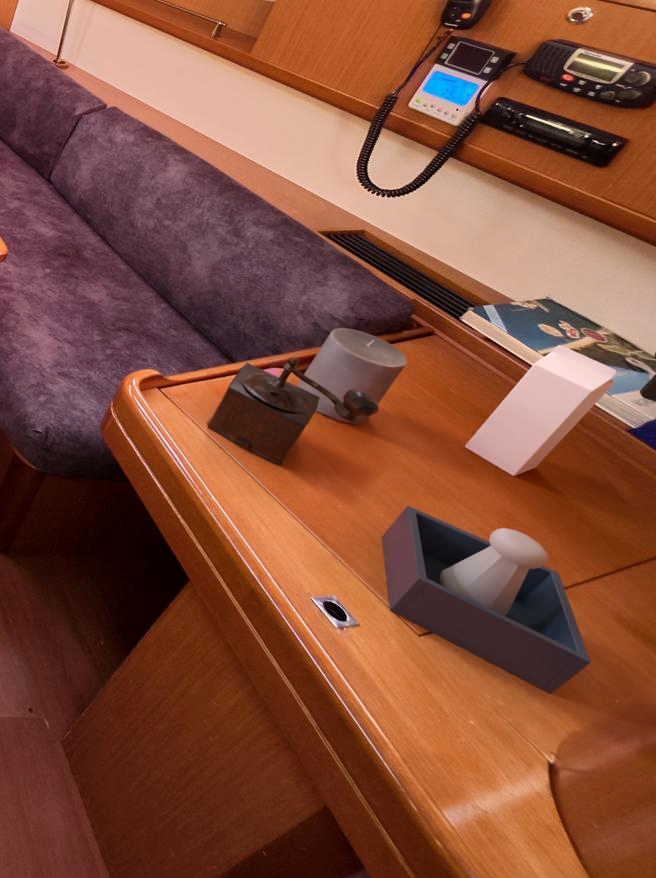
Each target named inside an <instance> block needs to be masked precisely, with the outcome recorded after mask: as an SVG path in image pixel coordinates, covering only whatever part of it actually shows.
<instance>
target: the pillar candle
mask: <svg viewBox="0 0 656 878" xmlns="http://www.w3.org/2000/svg"><path fill="white" fill-rule="evenodd" d="M407 364H408V358H407V356H406V355H405V354H404V353H403V351H401V350H400V349H399V348H397V347H396V346H394V345H392V344H391V343H389V342H388V341H386V340H384V339H382V338H380V337H378V336H375V335H373V334H370V333H368V332H365V331H360V330H358V329H355V328H354V329H353V328H348V327H339V328H334V329H333V330H332V331H331V332H330V333H329V335H328V336H327V338H326V339H325V341H324V342H323V344H322V346H321V347H320V348H319V350H318V351H317V353H316V355H315V357H314V358H313V360H312V361H311V363H310V365H309V366H308V367H307V369H306V370H305V372H304V375H305V376H307V377H308V378H310V379H311V380H313V381H315V382H316V383H318V384H319V385H321V386H322V387H324V388H325V389H327V390H328V391H330V392H331V393H332V394H334V395H335V396H336V397H337V398H338V399H339V400H340V401H341V402H342V403H343V401H344V399H343V396H344V395H345V394H346V393H347V391H348V390H352V389H356V390H360V391H362V392H365V393H367V394H369V395H370V396H371V397H372V398H373V399H374V400H375V401H376V402H377V403H378V404H380V402H381V401H382V399H384V396H385V395H386V394H387V392H388V391H389V389H390V388H391V387H392V385H393V384H394V382H395V381H396V380H397V378H398V377H399V375H400V374H401V372H402V371H403V370H404V369H405V367H406V366H407ZM296 386H297V387H300V388H302V389H304V390H306V391H308V392H310V393H312V394H314V395H316V396H318V397H320V399H319V401H318V406H317V409H316V411H315V412H317V413H320V414H322V415H325V416H326V417H329V418H331V419H333V420H336V421H338V422H341V423H344V424H351V425H352V424H353V425H360V424H362V423H364V422H366V420H368V419H369V418H370V416H358V418H357V421H353V422H350V421H348V420H346V419H344V418H342V417H341V416H340V415H339V414H338V413H337V412H336V411H335V408H334V406H335V405H334V403H333V402H332V401H331V400H330V399H329V398H328V397H327V396H325V395H324V394H323V393H321V392H320V391H318V390H317V389H315V388H314V387H312V386H310V385H309V384H307V383H305V382H304V381H302V380H301V379H299V382H298V384H296Z"/></svg>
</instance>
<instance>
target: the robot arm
mask: <svg viewBox="0 0 656 878" xmlns="http://www.w3.org/2000/svg"><path fill="white" fill-rule="evenodd" d="M653 357H654V359H656V352H655V353H654V356H653ZM639 394H640V396H641V397H642V398H643V399H644V400H645V399H646V400H649V401H651V402H655V403H656V373H655V374H654V375H653V376H652V377H651V378H650V379H649V380H648V381H647V383H645V385H644V386H643V387H641V389H640V390H639Z"/></svg>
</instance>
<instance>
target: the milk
mask: <svg viewBox="0 0 656 878" xmlns="http://www.w3.org/2000/svg"><path fill="white" fill-rule="evenodd" d="M617 373H618V371H617V370H616V369H615V368H614V367H613V368H612V367H610V366H608V365H606V364H604V363H601V362H599V361H597V360H595V359H592V358H591V357H588V356H586V355H584V354H582V353H579V352H577V351H575V350H573V349H570V348H568V347H565V346H564V345H556V347H554V349H553V350H552V351H551V352H549V353H548V354H547V355H545V356H543V357H542V358H540V359H539V360H537V361H536V362H534V363H533V364H532V366H531V367H530V368H529V369H528V370H527V372H526V373H525V374H524V375H523V376H522V378H521V379H520V380H519V381H518V382H517V383H516V385H515V386H514V387H513V388H512V389H511V391H510V392H509V393H508V394H507V395H506V397H505V398H504V399H503V400H502V401H501V402H500V404H499V405H498V406H497V407H496V408H495V409H494V411H493V412H492V413H491V414H490V415H489V417H488V418H487V419H486V420H485V422H483V424H482V425H481V426H480V428H478V429H477V431H476V432H475V433H474V434H473V436H472V437H471V438H470V440H468V441H467V443H466V444H465V446H464V448H466V449H467V450H469V451H471V452H472V453H474V454H475V455H477V456H479V457H481V458H482V459H484V460H486V461H487V462H489V463H490V464H492V465H494V466H496V467H498V468H499V469H500V470H502V471H504V472H506V473H507V474H509V475H511V476H513V477H515V476H518V475H520V474H523V473H525V472H528V471H530V470H533V469H535V468H536V467H537V466H538V465H539V464H541V462H542V461H543V460H545V458H546V457H547V456H548V455H549V453H550V452H551V451H552V450H553V449H554V448H555V447H556V446H557V445H558V444H559V443H560V442H561V441H562V440H563V439H564V438H565V437H566V436H567V434H568V433H569V432H571V430H572V429H573V428H574V427H575V426H576V425H577V424H578V423H579V422H580V421H581V420H582V418H584V417H585V415H586V414H587V413H588V412H589V411H590V410H591V409H592V408H593V407H594V406H595V405H596V403H598V401H599V400H601V398H602V397H603V396H604V395H605V394H606V393H607V392H608V391H609V390H610V389H611V388H612V387H613V386H614V384H615V382H614V380H613V378H614V377H615V376H616V375H617Z"/></svg>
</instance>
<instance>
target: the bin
mask: <svg viewBox="0 0 656 878" xmlns="http://www.w3.org/2000/svg"><path fill="white" fill-rule="evenodd" d="M381 541H382V550H383V559H384V569H385V577H386V579H385V580H386V587H387V596H388V607H389V611H390V612H392V613H394V614H397V615H398V616H400V617H402V618H403V619H406V620H408V621H410V622H411V623H413V624H416V625H418V626H420V627H421V628H423V629H425V630H427V631H429V632H431V633H433V634H434V635H436V636H438V637H441V638H442V639H444V640H446V641H448V642H449V643H452V644H454V645H456V646H458V647H460V648H462V649H464V650H466V651H467V652H469V653H471V654H473V655H475V656H477V657H479V658H481V659H482V660H485V661H486V662H488V663H490V664H493V665H494V666H496V667H498V668H500V669H502V670H504V671H506V672H508V673H510V674H512V675H514V676H515V677H517V678H519V679H521V680H523V681H525V682H527V683H528V684H531V685H533V686H535V687H536V688H538V689H540V690H542V691H544V692H546V693H548V694H550V695H552V694H553V693H555V692H556V691H557V690H558V689H559V688H561V687H562V686H563V685H565V684H566V683H568V681H570V680H571V679H572V678H574V677H575V676H576V675H577V674H578V673H580V672H582V671H583V669H585V668H586V667H588V666H589V665H590V664H591V659H590V657H589V653H588V651H587V648H586V646H585V643H584V640H583V637H582V634H581V631H580V628H579V625H578V623H577V620H576V617H575V614H574V611H573V609H572V606H571V604H570V603H571V602H570V600H569V598H568V595H567V592H566V589H565V587H564V583H563V581H562V578H561V575H560V572H558V571H556V570H554V569H551V568H549V567H547V566H546V565H544V566H542V567H540V568H535V569H531V568H530V569H529V571H528V573H527V575H526V577H525V579H524V581H523V583H522V585H521V587H520V589H519V591H518V593H517V595H516V597H515V599H514V601H513V603H512V605H511V608H510V610H509V612H508V614H507V615H506V616H504V615H501V614H499V613H497V612H495V611H493V610H491V609H489V608H487V607H485V606H483V605H481V604H479V603H477V602H475V601H473V600H471V599H469V598H467V597H464V596H462V595H460V594H458V593H456V592H454V591H452V590H450V589H448V588H446V587H444V586H442V585H440V584H439V578H440V575H441V572H442V571H443V570H445V569H447V568H449V567H451V566H453V565H455V564H457V563H459V562H460V561H462V560H464V559H466V558H468V557H470V556H472V555H474V554H476V553H478V552H480V551H482V550H484V549H486V548H488V547H489V546H491V544H490V542H489V540H486V539H485V538H482V537H479V536H477V535H475V534H473V533H471V532H468V531H466V530H465V529H464V530H463V529H461V528H460V527H457V526H455V525H452V524H450V523H448V522H446V521H443V520H442V519H439V518H436V517H434V516H432V515H430V514H427V513H425V512H423V511H421V510H419V509H417V508H414V507H412V506H410V505H406V507H404V509H403V511H402V512H401V513H400V514H399V515H398V517H397V518H396V519H394V521H393V523H392V524H391V525H390V526H389V527H388V529H387V530H386V531H385V532H384V533H383V534H382V535H381Z"/></svg>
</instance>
